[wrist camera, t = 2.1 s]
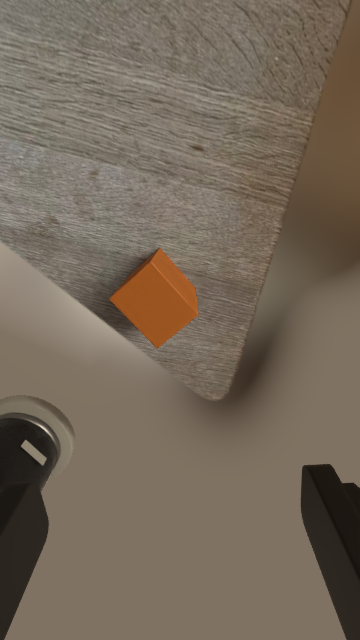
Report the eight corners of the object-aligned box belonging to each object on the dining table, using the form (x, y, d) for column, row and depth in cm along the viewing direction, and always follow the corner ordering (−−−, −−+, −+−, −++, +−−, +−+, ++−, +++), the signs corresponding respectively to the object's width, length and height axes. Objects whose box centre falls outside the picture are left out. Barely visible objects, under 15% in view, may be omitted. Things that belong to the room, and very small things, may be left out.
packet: (164, 315, 32) (157, 348, 24) (128, 276, 30) (108, 299, 23) (195, 288, 31) (198, 314, 23) (159, 247, 30) (150, 261, 22)
